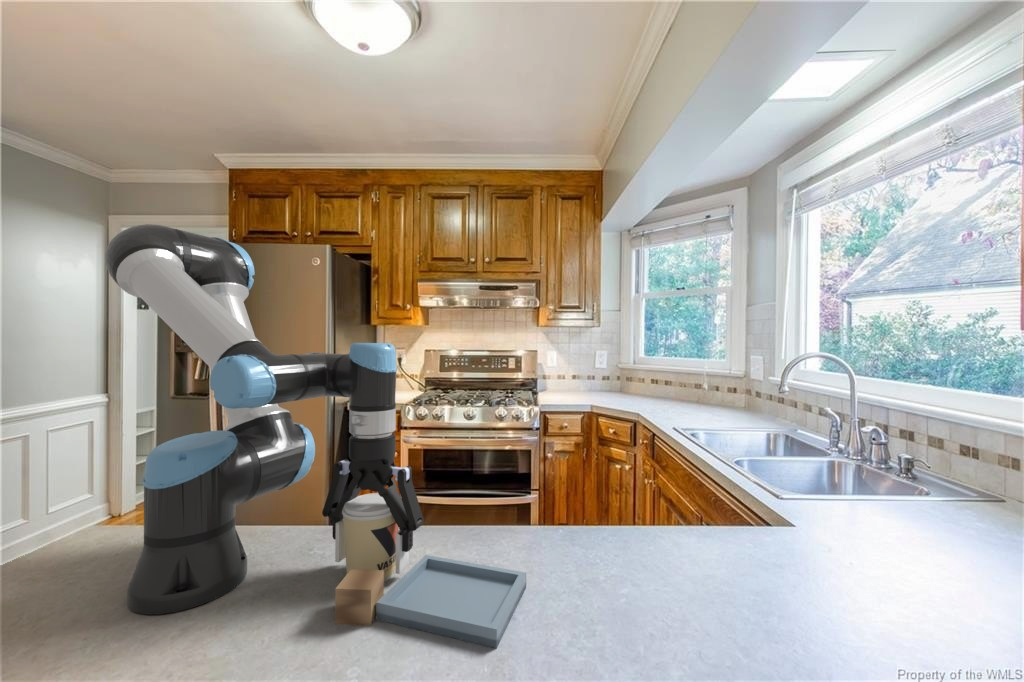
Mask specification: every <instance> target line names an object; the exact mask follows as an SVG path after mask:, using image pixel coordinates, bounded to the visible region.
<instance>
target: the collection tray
mask: <svg viewBox="0 0 1024 682" xmlns="http://www.w3.org/2000/svg"><path fill="white" fill-rule="evenodd" d="M526 589H527V572H524V571H519V570H514V569H508V568H503V567H502V568H501V567H498V566H497V567H496V566H490V565H485V564H480V563H479V564H478V563H474V562H468V561H462V560H458V559H457V560H456V559H450V558H445V557H440V556H433V555H429V554H425V555H424V556H423V557H422V558H421V559H420V560H418V562H417V563H415V564H414V566H412V568H411V569H410V570H409V571H407V572H406V573H405V574H404V575H403V576H402V577H401V578H399V580H398V581H396V583H395V584H393V585H392V586H391V587H390V588H389V590H388V591H386V592H384V595H383V596H382V597H381V598H380V599H379V600H378V601H377V602H376V617H375V620H376V621H381V622H385V623H389V624H394V625H397V626H401V627H406V628H409V629H415V630H419V631H423V632H428V633H431V634H435V635H440V636H444V637H448V638H453V639H456V640H460V641H465V642H468V643H473V644H476V645H477V644H478V645H482V646H486V647H489V648H495V649H498V647H499V644H500V643H501V640H502V638H503V636H504V634H505V632H506V630H507V628H508V626H509V624H510V621H511V620H512V617H513V616H514V613H515V612H516V610H517V607H518V605H519V604H520V602H521V600H522V597H523V595H524V593H525V591H526Z"/></svg>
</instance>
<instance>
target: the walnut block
mask: <svg viewBox="0 0 1024 682" xmlns="http://www.w3.org/2000/svg"><path fill="white" fill-rule="evenodd" d="M384 582H385V581H384V570H358V569H351V570H350V571H349V572H348V574H347V573H346V575H345V576H344V577H343V579H342V580H341V581H340V583H338V585H337V586H336V587H335V598H334V599H335V603H334V604H335V605H334V606H335V607H334V617H335V619H334V625H339V626H340V625H341V626H343V625H345V626H366V627H367V626H368V627H371V626H372V624H373V623H374V621H375V620H376V602H377V601H378V600H379V599H380V598H381V597H382V596H383V595H384V594H385V592H384V590H385V589H384V587H385V585H384V584H385V583H384Z"/></svg>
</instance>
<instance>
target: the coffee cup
mask: <svg viewBox="0 0 1024 682" xmlns="http://www.w3.org/2000/svg"><path fill="white" fill-rule="evenodd" d="M342 514H343V521H344V539H345V555H346V558H345V568H346V569H345V570H346V575H347V574H348V572H349V571H350V570H351V569H358V570H384V582H386V581H387V580H389V579H391V578H392V576H393V575H394V574H395V570H396V533H397V532H398V531H399V527H398V525H397V523H396V521H395V519H394V518H393V516H392V514H391V512H390V508H388V506H387V504H386V502H385V500H384V498H383V497H381V496H380V495H379V493H378V492H373V493H366V494H361V495H358V496H357V497H356V498H354V499H352V500H351V501H348V502H346V503H345V505H344V507H343V509H342Z"/></svg>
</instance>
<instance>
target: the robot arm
mask: <svg viewBox="0 0 1024 682" xmlns="http://www.w3.org/2000/svg"><path fill="white" fill-rule="evenodd" d="M104 260H105V266H106V269H107V272H108V275H110V277H111V279H112V280H113V281H114V282H115V283H116V284H117V285H118V286H119V287H120V288H121V290H123V291H124V292H125V293H126V294H128V295H131V296H133V297H136V298H140V299H142V301H144V303H146V305H147V306H148V307H149V308H150V309H151V310H152V311H154V313H155V314H156V315H157V316H158V317H159V318H160V319H162V321H163V322H164V323H165V324H166V325H167V326H168V327H169V328H170V329H171V330H172V331H173V332H174V333H175V334H176V335H177V336H178V337H179V338H180V339H181V340H182V341H183V342H184V343H185V344H186V345H187V346H188V347H189V348H190V349H191V350H192V351H193V352H194V353H195V354H196V355H197V356H198V357H199V358H200V359H201V360H202V361H203V362H204V363H205V364H206V365H207V366H208V367H209V368H210V369H211V372H210V374H209V375H210V376H209V387H210V390H211V391H213V397H214V400H215V401H216V402H217V403H218V404H219V405H221V406H222V407H223V408H224V411H225V415H226V417H227V420H228V422H227V425H226V426H225V428H224V429H223V430H209V431H204V432H201V433H199V432H197V433H191V434H187V435H183V436H180V437H179V436H178V437H176V438H173V439H170V440H168V441H165V442H163V443H161V444H159V445H156V447H154V448H153V449H152V450H151V451H150V452H148V454H147V456H146V459H145V464H144V470H143V471H144V472H143V477H142V485H143V547H142V551H141V552H140V556H139V558H138V561H137V563H136V566H135V569H134V571H133V575H132V577H131V579H130V582H129V584H128V587H127V595H126V596H127V597H126V599H127V600H126V604H127V608H128V609H129V611H132V612H134V613H137V614H142V615H164V614H170V613H172V614H173V613H175V612H180V611H185V610H189V609H192V608H196V607H198V606H201V605H205V604H206V603H209V602H211V601H214V600H216V599H219V598H220V597H221V596H224V595H225V594H227V593H228V592H230V591H232V590H233V589H234V588H236V587H237V586H239V585H240V584H241V582H242V581H244V579H245V578H246V576H247V574H248V556H247V553H246V552H245V549H244V547H243V544H242V541H241V538H240V536H239V533H238V531H237V529H236V512H237V511H236V510H237V509H236V506H238V505H240V504H243V503H246V502H249V501H252V500H254V499H257V498H260V497H262V496H265V495H267V494H270V493H272V492H276V491H279V490H280V491H281V490H284V489H285V488H288V487H289V486H291V485H293V484H295V483H298V482H299V481H301V480H302V479H304V477H306V475H308V474H309V472H310V471H311V468H312V464H313V462H314V460H315V455H316V444H315V440H314V437H313V434H312V432H311V430H309V428H308V427H305V426H304V424H301V423H297V422H294V420H293V417H292V415H291V411H290V410H288V409H286V408H283V407H281V406H279V404H282V403H287V402H296V401H304V400H309V399H316V398H324V397H337V398H338V397H339V398H349V399H348V400H349V401H348V408H349V411H348V412H349V414H348V415H349V417H348V419H349V421H348V428H349V429H348V432H349V433H350V434H351V435H350V437H348V458H349V459H350V461H349V459H347V458H346V459H343V460H340V461H337V462H335V463H334V464H333V477H332V480H331V483H330V486H329V491H328V493H327V495H326V500H325V503H324V505H323V509H322V511H321V512H322V516H323V517H325V518H326V517H328V518H330V520H331V522H332V538H333V540H335V541H334V542H335V544H334V545H335V547H334V548H335V553H334V554H335V557H334V558H335V559H334V561H335V562H336V563H340V562H341V561H343V560H344V559H346V555H345V539H344V521H343V514H342V509H343V507H344V505H345V503H346V502H348V501H351V500H352V499H354V498H356V497H357V496H359V494H360V492H361V491H362V490H363V491H367V490H368V491H371V492H374V493H379V495H380V496H381V497H383V498H384V500H385V502H386V504H387V506H388V508H390V512H391V514H392V516H393V518H394V519H395V521H396V523H397V525H398V532H397V533H396V565H395V571H394V574H397V575H401V573H402V572H404V570H406V569H407V568H408V567H409V553H410V552H409V551H410V550H411V549H413V545H414V537H413V536H414V531H417V529H419V528H420V527H421V526H423V525H424V524H425V519H424V515H423V513H422V510H421V509H422V508H421V506H420V502H419V499H418V496H417V493H416V488H415V486H414V483H413V479H412V478H413V475H412V474H413V471H412V470H413V469H412V467H411V466H410V465H407V466H404V467H400V466H396V463H395V457H396V451H397V450H396V447H397V446H396V443H397V442H396V441H397V439H396V438H397V437H396V434H395V433H394V432H395V431H396V430H397V422H396V421H397V419H396V418H397V411H396V410H397V409H396V408H397V407H396V406H397V405H396V387H397V371H398V366H397V362H396V361H397V355H396V347H395V345H393V344H392V343H389V342H354V343H352V344H350V346H349V351H348V352H349V353H343V354H342V353H324V352H309V353H302V354H276V353H273V352H272V351H271V350H270V349H269V348H268V347H267V346H265V344H263V342H261V340H259V339H258V338H257V337H256V335H255V332H254V330H253V326H252V323H251V321H250V317H249V314H248V311H247V308H246V305H245V303H244V302H245V300H246V299H247V298H248V297H249V294H250V292H249V291H250V290H251V288H252V287H253V284H254V282H255V281H254V280H255V279H254V278H253V276H255V266H254V262H253V260H252V258H251V256H250V255H249V253H248V252H247V251H246V250H245V249H244V248H243V247H242V246H241V245H239V244H237V243H234V242H232V241H228V240H227V239H224V238H222V237H221V238H220V237H217V236H216V237H214V236H213V237H212V236H211V237H210V236H208V235H207V236H205V235H203V234H198V233H195V232H194V233H193V232H190V231H186V230H181V229H177V228H172V227H170V226H165V225H161V224H150V223H148V224H147V223H145V224H139V225H134V226H131V227H128V228H126V229H123V230H122V231H120V232H118V233H117V234H116V235H115V236H114V237H113V238H112V239H111V240H110V242H109V243H108V244H107V247H106V249H105V253H104ZM349 473H350V474H351V476H352V479H351V480H350V483H349V484H348V486H347V490H346V491H345V487H346V484H347V482H348V478H349ZM393 477H395V478H393ZM396 482H397V484H396ZM387 486H388V487H387ZM386 487H387V488H386ZM397 488H398V489H397ZM344 491H345V493H344ZM398 491H399V492H398ZM343 494H344V495H343Z"/></svg>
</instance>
